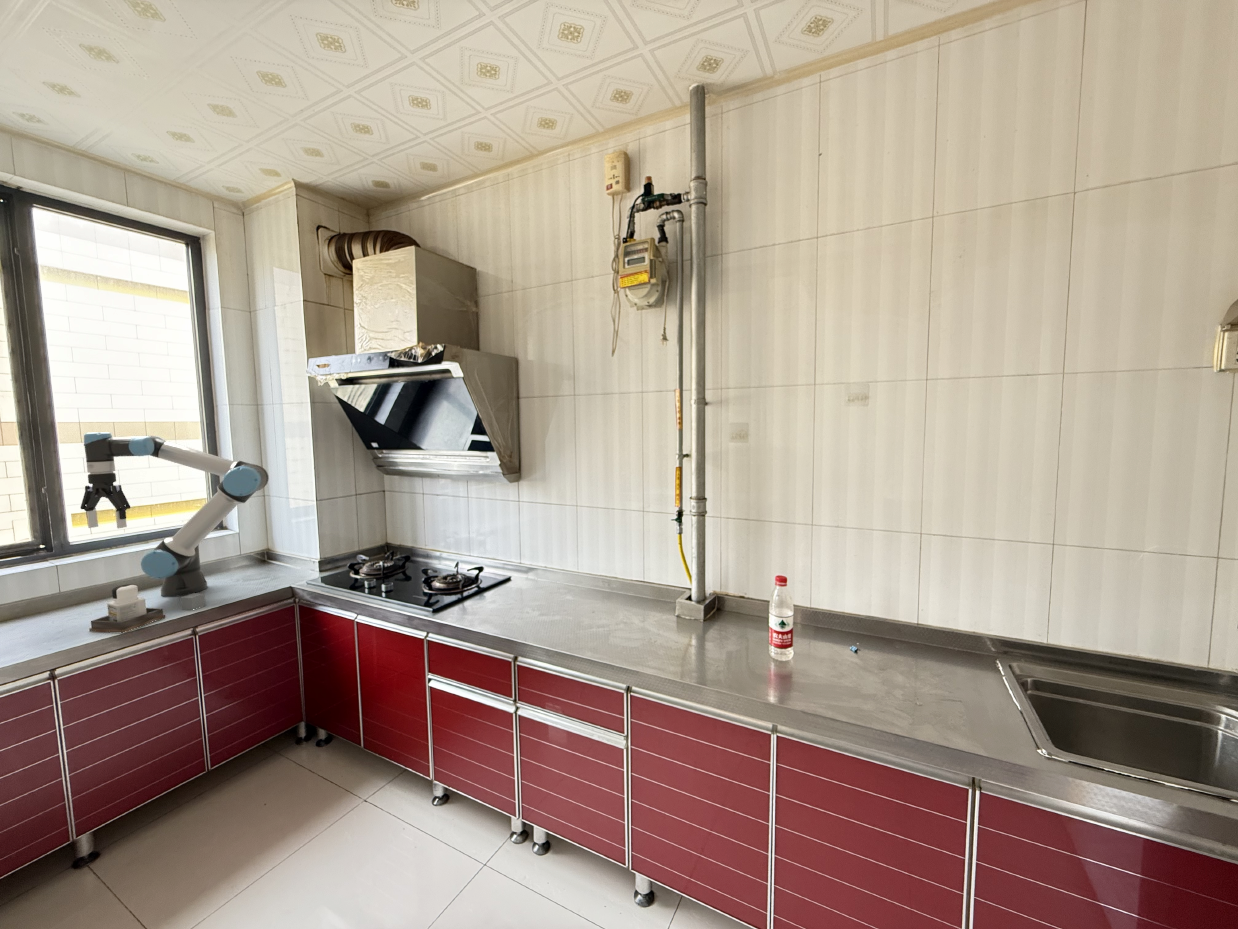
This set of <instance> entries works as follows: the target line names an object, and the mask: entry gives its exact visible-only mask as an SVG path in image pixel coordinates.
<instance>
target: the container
mask: <svg viewBox="0 0 1238 929" xmlns="http://www.w3.org/2000/svg"><path fill="white" fill-rule="evenodd" d="M111 594H112V601H108V602H107V603H106V605H107V606H106V607H107V614H108V615H109V621H113V622H124V621H127V620H130V619H133V618H135V617H138V616H141V615H144V614H147V612H146V608H147V605H146V604H147V603H146V598H144V597H140V596H139V595H140V594H139V587H138V585H137V584H134V583H129V584H122V585H121V584H120V585H118V586H115V587H114V588H113V589H112V590H111ZM108 615H107V616H108Z"/></svg>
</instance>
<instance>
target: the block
mask: <svg viewBox="0 0 1238 929" xmlns="http://www.w3.org/2000/svg"><path fill="white" fill-rule="evenodd" d="M179 598H180V607H181V611H191V610H193V609H195V610H197V609H196V608H198V609H200V608H199V607H201V608H203V607H202V606H204V607H205V606H206V598H205V593H201V592H200V593H198V592H196V593H192V594H187V595H182V596H179ZM193 611H194V610H193Z"/></svg>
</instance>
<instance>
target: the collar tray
mask: <svg viewBox="0 0 1238 929" xmlns="http://www.w3.org/2000/svg"><path fill="white" fill-rule="evenodd" d="M163 610H164V609H163V608H154V607H146V612H147V614H144V615H141V616H138V617H135V618H133V619H130V620H127V621H124V622H113V621H109V615H105V616H101V617H99V618H96V619H92V620H90V626H91V627H89V632H93V633H94V632H98V633H110V632H121V633H120V634H124V633H123V632H125V631H127V632H130V631H132V630H131V629H133V630H135V629H134V628H136V629H138V628H140V626H141V627H143V625H144V626H146V625H145V624H147V623H149V624H151V623H150V622H152V621H155V620H158V621H160V620H163V619H165V617H166V614H164V611H163ZM162 618H163V619H162ZM159 619H160V620H159ZM155 622H156V621H155ZM152 623H153V622H152ZM147 625H148V624H147ZM137 627H138V628H137ZM129 630H130V631H129ZM125 633H126V632H125Z"/></svg>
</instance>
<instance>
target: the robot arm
mask: <svg viewBox="0 0 1238 929" xmlns="http://www.w3.org/2000/svg"><path fill="white" fill-rule="evenodd" d="M83 447H84V451H85V452H84V453H85V460H86V462H85V463H86V471H87V473H89V474H88V475H87V481H88V484H90V485H84V486H85V487H84V494H83V498H82V501H81V505H80V509H81V510H84V512H85V514H86V519H87V526H88V529H92V528H98V527H99V520H98V513H97V512H98V511H97V508H96V507H97V505H98V503H99V502H100V500H101V499H102V498H105V499H108V501H109V502H110V503H111V504H112V506H113V507H114V508H115V520H116V528H117V529H123V528H127V526H128V525H127V512H126V511H127V510H129V509H131V505H130V503H129V501H128V499H127V497H126V495H125V493H124V492H123V490H122V485H121V484H117V485H116V484H115V485H114V483H116V482H117V474H116V473H115V471H116V466H115V458H117V457H146V456H151V457H153V458H157V459H161V460H165V461H169V462H171V463H174V464H178V465H180V466H181V465H182V466H185V467H188V468H192V469H196V470H199V471H203V472H205V473H209V474H212V475H216V476H219V477H223V479H222V481H221V482H219V484H218V485H216V489H217V492H215V493H214V495H212V497H210V498H209V499H208V501H207V502H206V503H205V504H204V505H203V506H201V508H200V509H199V510H198V511H197V512H196V513H195V514H194V515H193V516H192V517H191V518H189V520H187V522H186V523H184V525H183V526H181V528H180V529H179V530H178V531H177V532H176V533H175V534H174V535H173V536H169V537H168V536H167V537H165V538H164V539H162V541H161V542H159V544H158V545H157V546H156V547H155V548H154V549H153V550H151V551H149V552H147V553H146V554H144V556H143V557H142V559H141V561H140V566H141V570H142V572H143V573H144V574H145V575H146V576H148V577H149V578H152V579H158V580H159V579H160V580H161V579H163V582H162V585H161V589H160V595H161V597H164V598H165V597H167V598H171V597H183V596H186V595H189V594H192V593H195V592H196V593H198V592H202V591H204V590H206V589H208V581H207V580H206V577H205V576H204V574H203V573H202V570H201V560H200V549H199V545H200V543H202V542H203V540H204V539H206V537H207V536H208V535H209V534H210V533H211V532H212V531H213V530H214V529H215V528H216V527H217V526H218V525H219V524H220V523H221V522H222V521H223V520H224V519H226V517H227V516H228V515H229V514H230V513H231V512H232V511H233V510H234V509H235V508H236V507H237V506H238V505H239V504H246V502H247V501H248V500H249V499H250V498H251V497H252V496H254V494H255V493H256V492H259V491H261V490H262V489H264V488H265V487H266V486H267V484H268V482H269V480H270V478H269V473H268V471H267V470H266V469H265V468H264V467H262V466H260V465H258V464H254V463H250V462H245V461H242V460H237V461H234V460H230V459H228V458H224V457H220V456H217V455H215V454H211V453H207V452H205V451H200V450H198V449H195V448H192V447H188V446H185V445H181V444H178V443H174V442H171V441H167V440H165V439H163V438H162V437H160V436H156V435H155V436H154V435H147V436H144V435H143V436H137V435H136V436H121V437H118V436H113V435H112V433H111V432H109V431H108V432H86V433H85V434H84V435H83Z"/></svg>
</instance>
